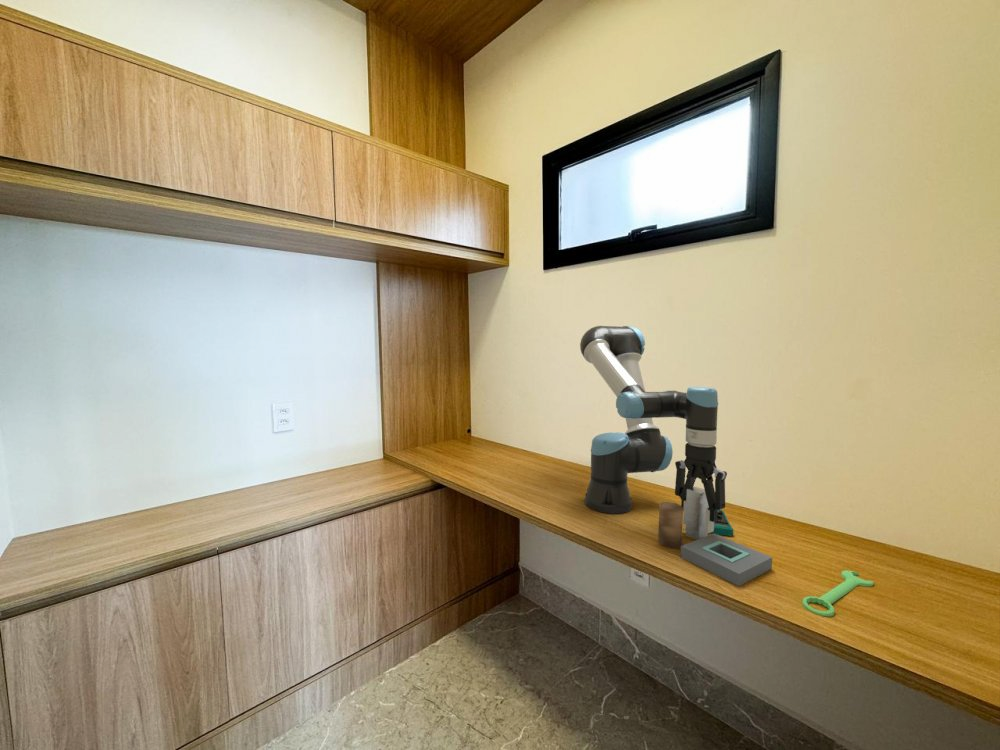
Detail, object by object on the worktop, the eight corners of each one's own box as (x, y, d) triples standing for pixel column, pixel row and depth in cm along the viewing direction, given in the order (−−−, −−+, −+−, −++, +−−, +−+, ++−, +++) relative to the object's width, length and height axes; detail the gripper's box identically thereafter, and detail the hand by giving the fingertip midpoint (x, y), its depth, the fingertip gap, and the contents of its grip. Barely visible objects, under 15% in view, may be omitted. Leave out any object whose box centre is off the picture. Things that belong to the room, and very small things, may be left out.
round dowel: (653, 541, 106) (654, 504, 105) (667, 536, 109) (668, 500, 108) (672, 550, 101) (673, 512, 100) (686, 545, 104) (687, 507, 103)
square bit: (685, 534, 110) (686, 488, 109) (693, 531, 112) (695, 486, 111) (698, 540, 106) (700, 493, 106) (707, 537, 108) (709, 490, 108)
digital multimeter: (723, 517, 123) (723, 508, 123) (733, 538, 109) (734, 528, 109) (697, 514, 125) (697, 505, 125) (704, 534, 111) (704, 524, 111)
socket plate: (680, 557, 98) (681, 545, 98) (713, 543, 105) (714, 532, 105) (738, 586, 86) (739, 572, 86) (771, 568, 93) (772, 556, 93)
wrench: (876, 587, 88) (846, 575, 93) (877, 578, 88) (847, 567, 92) (828, 623, 75) (796, 607, 80) (829, 613, 75) (797, 597, 80)
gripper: (661, 439, 114) (659, 518, 115) (727, 453, 97) (724, 544, 99) (678, 436, 117) (676, 512, 118) (744, 449, 101) (740, 537, 102)
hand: (698, 527), depth 109 cm, fingers open, 6 cm apart
